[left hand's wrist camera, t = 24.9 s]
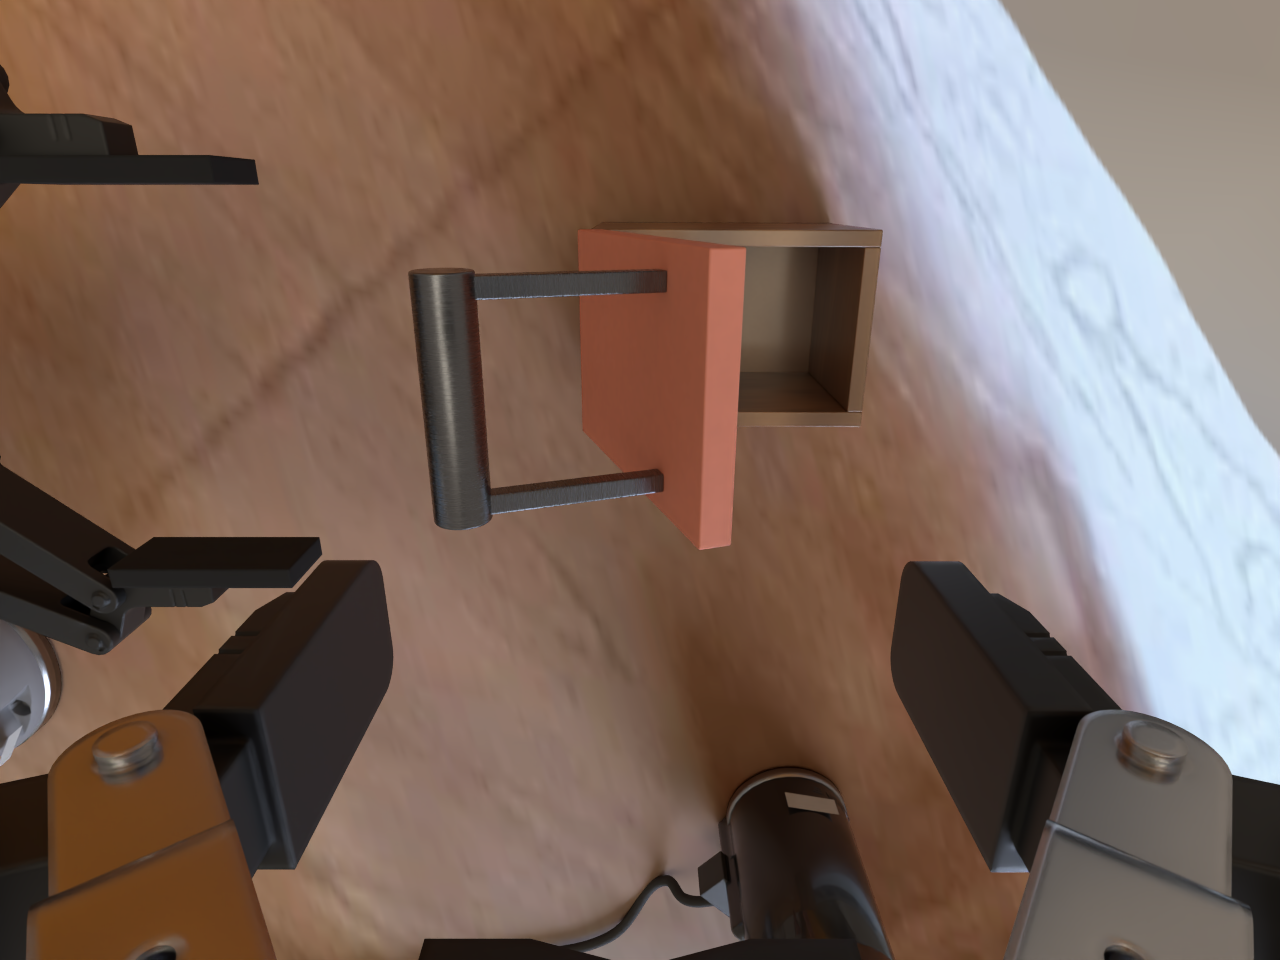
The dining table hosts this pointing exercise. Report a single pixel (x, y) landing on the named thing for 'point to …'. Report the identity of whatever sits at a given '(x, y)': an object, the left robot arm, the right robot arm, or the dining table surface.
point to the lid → (600, 379)
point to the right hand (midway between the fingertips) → (275, 384)
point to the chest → (797, 316)
